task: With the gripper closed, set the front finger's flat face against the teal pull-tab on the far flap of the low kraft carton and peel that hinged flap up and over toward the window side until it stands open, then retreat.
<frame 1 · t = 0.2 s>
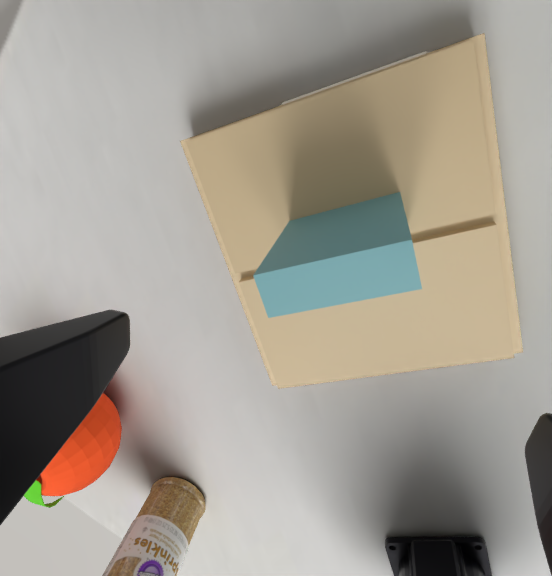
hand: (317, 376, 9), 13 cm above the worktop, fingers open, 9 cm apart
carton: (356, 238, 21), on the worktop
sprinkles bottle: (180, 493, 33), on the worktop
flap: (327, 190, 15), point 5 cm above the worktop, hinge at -0.1°
clementine: (98, 405, 31), on the worktop
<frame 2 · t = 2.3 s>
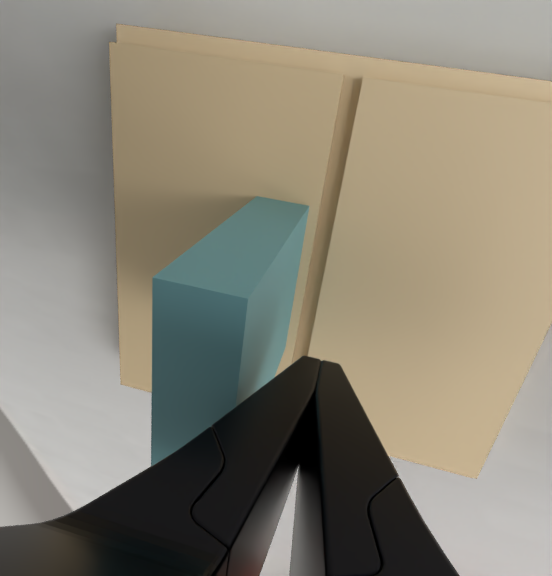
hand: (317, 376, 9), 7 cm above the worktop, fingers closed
carton: (323, 263, 15), on the worktop
flap: (166, 302, 11), point 5 cm above the worktop, hinge at -0.1°, touching gripper
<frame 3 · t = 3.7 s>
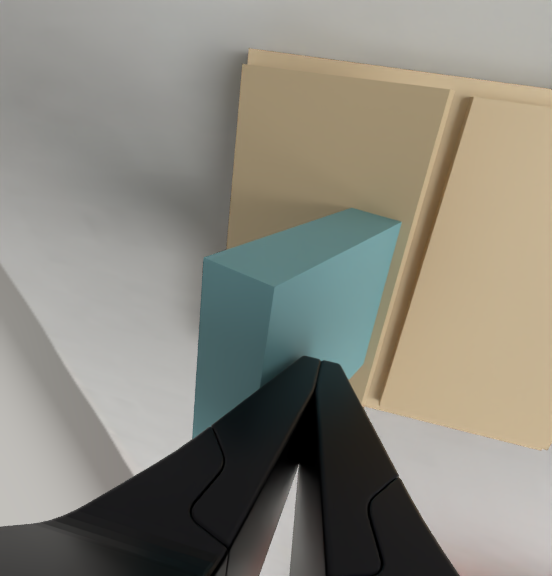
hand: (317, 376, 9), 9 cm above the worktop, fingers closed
carton: (408, 258, 17), on the worktop
flap: (246, 294, 12), point 6 cm above the worktop, hinge at 21.7°, touching gripper
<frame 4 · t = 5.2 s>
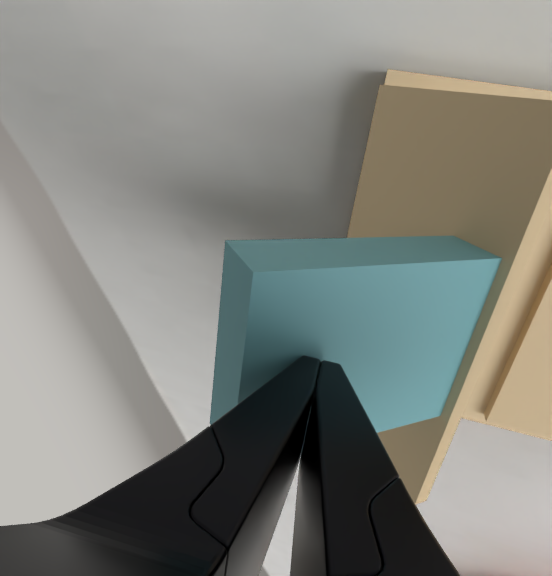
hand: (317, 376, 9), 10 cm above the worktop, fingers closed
carton: (520, 273, 17), on the worktop
flap: (317, 301, 12), point 7 cm above the worktop, hinge at 52.5°, touching gripper
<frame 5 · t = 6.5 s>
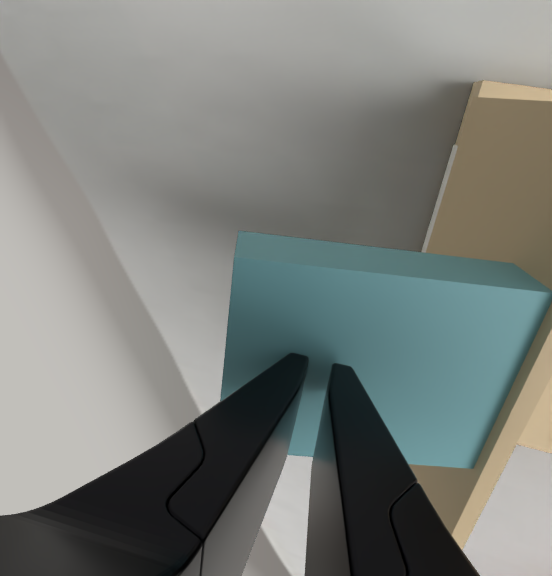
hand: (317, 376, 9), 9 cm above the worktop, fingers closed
flap: (355, 313, 12), point 6 cm above the worktop, hinge at 74.6°, touching gripper
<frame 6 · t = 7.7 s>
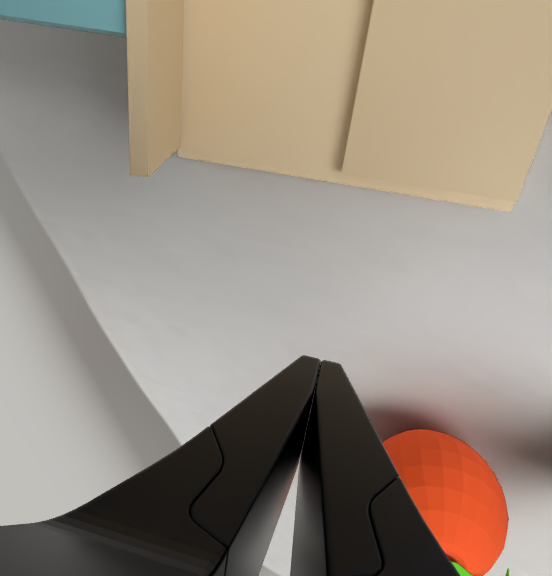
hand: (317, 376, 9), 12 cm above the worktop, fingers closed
carton: (369, 6, 16), on the worktop
clementine: (429, 453, 24), on the worktop
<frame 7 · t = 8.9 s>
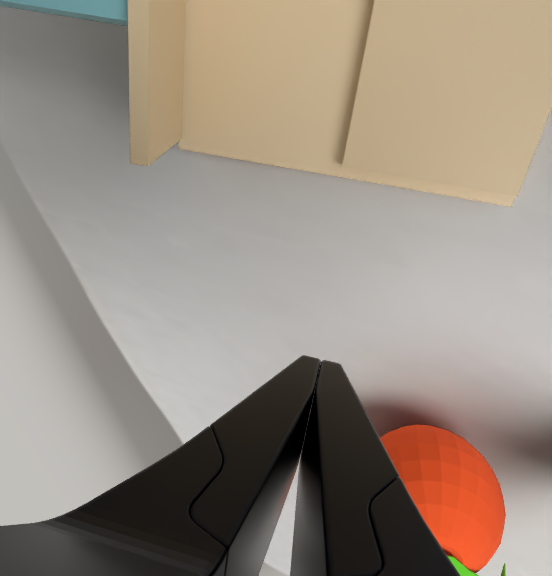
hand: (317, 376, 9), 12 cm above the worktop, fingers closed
clementine: (427, 448, 24), on the worktop
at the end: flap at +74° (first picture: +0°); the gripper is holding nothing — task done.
